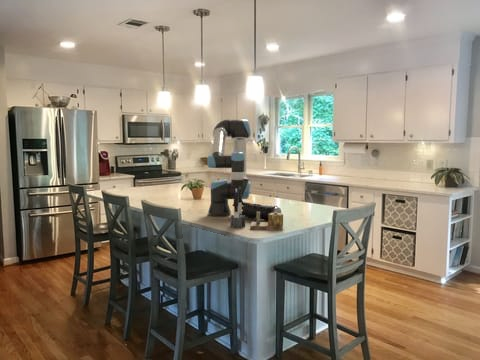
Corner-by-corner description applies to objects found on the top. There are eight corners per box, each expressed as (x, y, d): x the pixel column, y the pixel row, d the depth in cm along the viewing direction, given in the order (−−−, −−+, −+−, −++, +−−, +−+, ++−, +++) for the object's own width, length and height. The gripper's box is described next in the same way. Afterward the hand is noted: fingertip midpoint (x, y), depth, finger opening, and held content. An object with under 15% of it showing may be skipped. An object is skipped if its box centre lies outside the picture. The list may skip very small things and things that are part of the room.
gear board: (250, 229, 221) (250, 213, 220) (252, 225, 232) (252, 210, 231) (282, 230, 219) (283, 214, 218) (283, 225, 230) (283, 210, 229)
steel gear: (229, 227, 226) (229, 217, 225) (232, 224, 234) (232, 214, 234) (244, 227, 225) (244, 217, 224) (245, 224, 233) (245, 214, 232)
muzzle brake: (246, 216, 259) (246, 200, 258) (282, 221, 242) (282, 205, 241) (237, 218, 252) (237, 202, 251) (273, 224, 234) (273, 207, 233)
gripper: (241, 181, 214) (241, 219, 216) (246, 177, 238) (246, 212, 240) (228, 180, 215) (228, 219, 217) (234, 177, 239) (234, 211, 241)
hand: (237, 215), depth 228 cm, fingers open, 13 cm apart
